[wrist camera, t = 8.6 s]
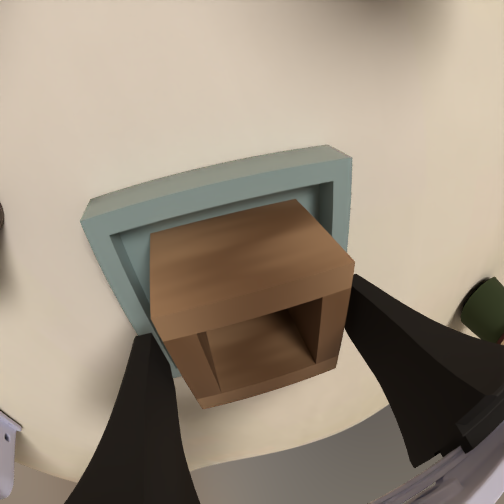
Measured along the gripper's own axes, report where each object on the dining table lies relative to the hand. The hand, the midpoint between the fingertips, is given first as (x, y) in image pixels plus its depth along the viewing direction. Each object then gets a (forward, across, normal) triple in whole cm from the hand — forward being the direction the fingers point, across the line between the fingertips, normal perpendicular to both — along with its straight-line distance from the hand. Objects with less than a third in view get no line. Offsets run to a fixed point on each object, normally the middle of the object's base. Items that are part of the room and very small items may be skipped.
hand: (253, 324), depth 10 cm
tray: (+4, 0, 0) cm, 4 cm away
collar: (+3, 0, 0) cm, 3 cm away
